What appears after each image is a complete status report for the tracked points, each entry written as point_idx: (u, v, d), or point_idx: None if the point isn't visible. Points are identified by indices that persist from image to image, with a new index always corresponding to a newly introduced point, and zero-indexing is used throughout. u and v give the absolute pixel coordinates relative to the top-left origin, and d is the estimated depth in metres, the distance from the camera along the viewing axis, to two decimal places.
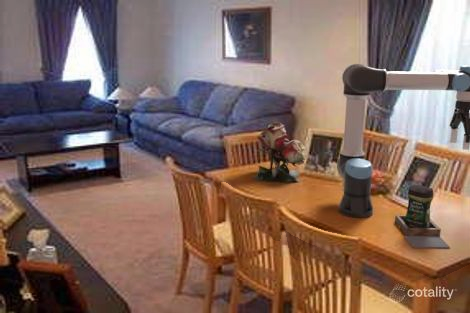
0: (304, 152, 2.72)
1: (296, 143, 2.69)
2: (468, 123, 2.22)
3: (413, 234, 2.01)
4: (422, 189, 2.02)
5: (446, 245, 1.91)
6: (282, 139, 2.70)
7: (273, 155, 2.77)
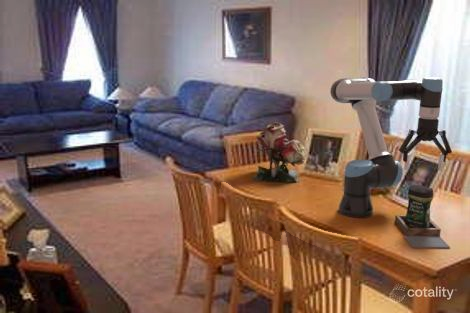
0: (303, 152, 2.72)
1: (295, 143, 2.68)
2: (405, 139, 2.00)
3: (413, 234, 2.01)
4: (422, 189, 2.02)
5: (446, 245, 1.91)
6: (281, 139, 2.70)
7: (272, 155, 2.77)
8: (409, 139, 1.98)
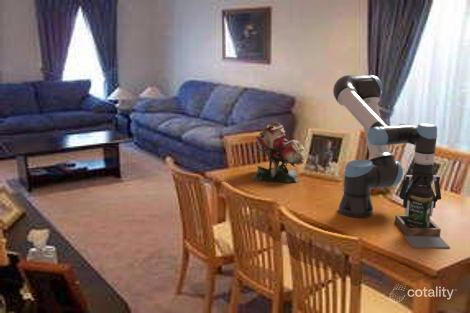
0: (303, 152, 2.72)
1: (295, 143, 2.68)
2: None
3: (413, 234, 2.01)
4: (422, 189, 2.02)
5: (446, 245, 1.91)
6: (281, 139, 2.69)
7: (272, 155, 2.77)
8: (406, 185, 2.03)
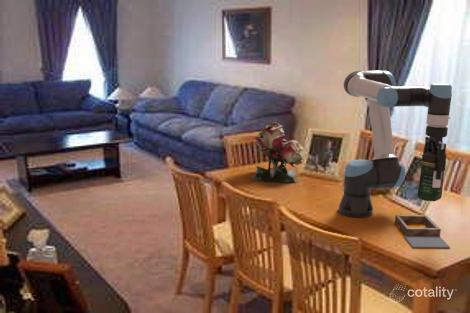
0: (302, 152, 2.71)
1: (294, 143, 2.68)
2: (439, 156, 1.82)
3: (413, 234, 2.01)
4: None
5: (446, 245, 1.91)
6: (280, 139, 2.69)
7: (271, 155, 2.76)
8: None
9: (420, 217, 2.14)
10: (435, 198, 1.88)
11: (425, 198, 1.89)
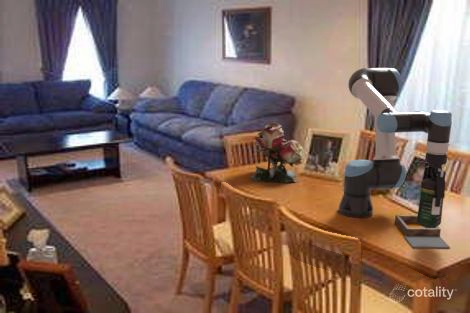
0: (302, 152, 2.71)
1: (294, 143, 2.68)
2: (439, 184, 1.81)
3: (413, 234, 2.01)
4: None
5: (446, 245, 1.91)
6: (280, 139, 2.69)
7: (270, 155, 2.76)
8: None
9: None
10: (434, 225, 1.88)
11: (424, 225, 1.89)
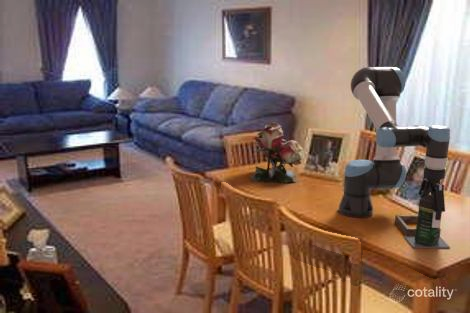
0: (301, 152, 2.71)
1: (293, 143, 2.68)
2: (438, 197, 1.82)
3: (413, 234, 2.01)
4: None
5: (446, 245, 1.91)
6: (279, 139, 2.69)
7: (270, 156, 2.76)
8: None
9: None
10: (432, 243, 1.89)
11: (422, 242, 1.90)
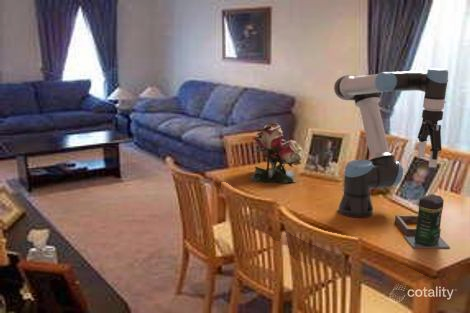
0: (301, 152, 2.71)
1: (293, 144, 2.67)
2: (435, 137, 1.88)
3: (413, 234, 2.01)
4: (439, 198, 1.89)
5: (446, 245, 1.91)
6: (279, 140, 2.69)
7: (269, 156, 2.76)
8: None
9: None
10: (432, 243, 1.89)
11: (422, 242, 1.90)
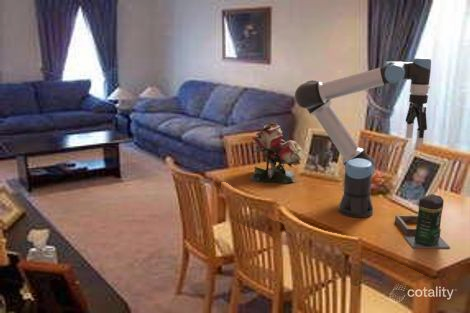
0: (300, 153, 2.71)
1: (292, 144, 2.67)
2: (421, 117, 2.13)
3: (413, 234, 2.01)
4: (439, 198, 1.89)
5: (446, 245, 1.91)
6: (278, 140, 2.68)
7: (269, 156, 2.75)
8: None
9: None
10: (432, 243, 1.89)
11: (422, 242, 1.90)
